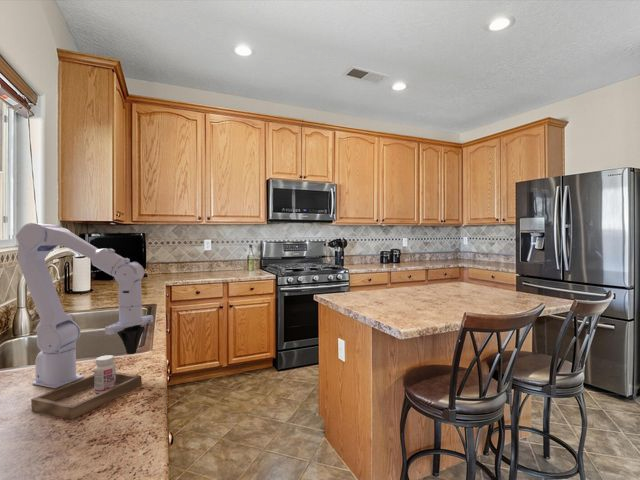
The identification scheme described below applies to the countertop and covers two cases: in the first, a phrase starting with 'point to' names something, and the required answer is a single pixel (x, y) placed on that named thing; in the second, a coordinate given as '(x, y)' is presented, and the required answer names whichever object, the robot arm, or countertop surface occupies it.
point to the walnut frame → (50, 406)
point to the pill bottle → (104, 373)
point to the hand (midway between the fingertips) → (131, 353)
